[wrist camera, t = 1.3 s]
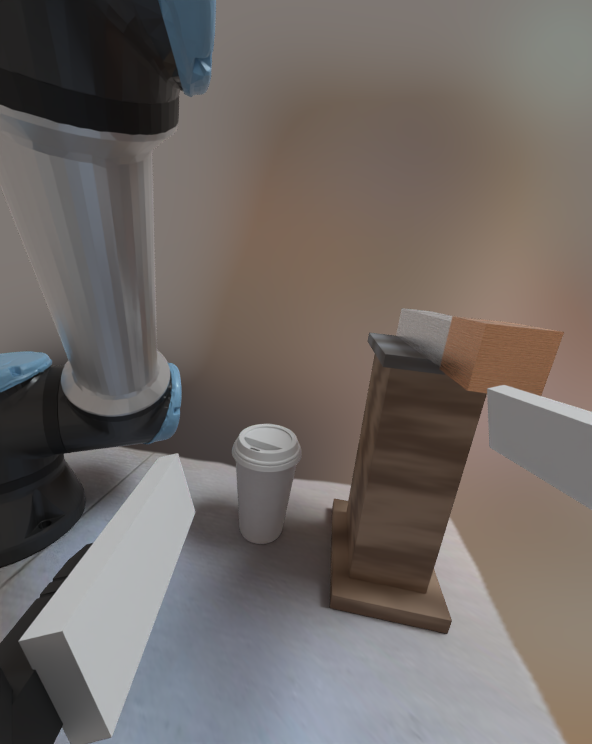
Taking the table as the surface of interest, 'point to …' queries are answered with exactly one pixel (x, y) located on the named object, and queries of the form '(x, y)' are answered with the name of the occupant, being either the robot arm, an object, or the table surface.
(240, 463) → the coffee cup
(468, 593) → the table surface
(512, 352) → the wood grain block
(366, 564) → the post
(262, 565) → the table surface
